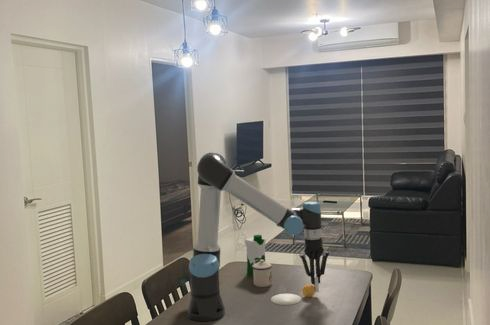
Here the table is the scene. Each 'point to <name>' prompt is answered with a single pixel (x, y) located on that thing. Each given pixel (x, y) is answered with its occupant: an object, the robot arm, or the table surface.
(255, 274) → the teacup with lid
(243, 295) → the table surface
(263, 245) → the milk carton
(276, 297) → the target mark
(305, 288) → the ball
